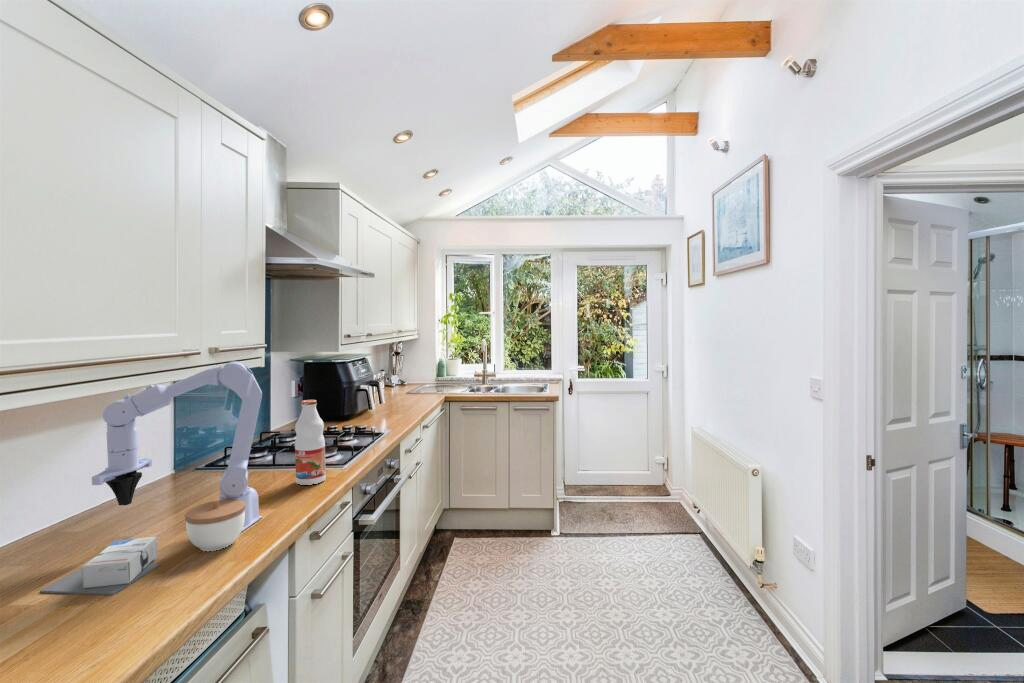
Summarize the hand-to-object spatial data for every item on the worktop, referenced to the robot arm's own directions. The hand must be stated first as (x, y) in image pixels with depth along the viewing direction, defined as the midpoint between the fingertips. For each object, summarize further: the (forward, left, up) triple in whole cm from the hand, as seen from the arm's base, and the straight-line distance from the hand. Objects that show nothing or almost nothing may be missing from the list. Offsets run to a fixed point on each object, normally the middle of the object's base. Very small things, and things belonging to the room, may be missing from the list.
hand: (125, 504), depth 115 cm
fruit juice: (-47, +23, -11) cm, 53 cm away
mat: (+14, +8, -10) cm, 19 cm away
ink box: (+6, +9, -8) cm, 13 cm away
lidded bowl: (-2, +22, -11) cm, 24 cm away
